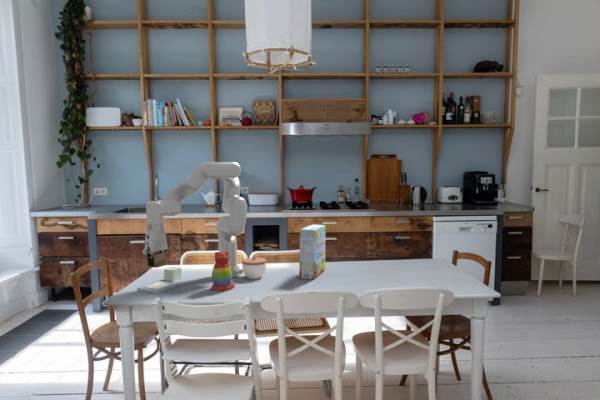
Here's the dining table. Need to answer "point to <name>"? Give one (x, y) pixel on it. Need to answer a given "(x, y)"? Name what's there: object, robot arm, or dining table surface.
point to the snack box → (312, 251)
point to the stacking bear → (222, 273)
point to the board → (157, 287)
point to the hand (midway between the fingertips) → (156, 264)
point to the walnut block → (158, 259)
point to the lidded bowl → (254, 267)
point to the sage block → (172, 274)
